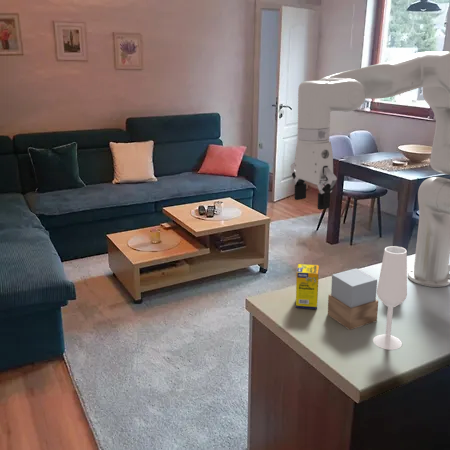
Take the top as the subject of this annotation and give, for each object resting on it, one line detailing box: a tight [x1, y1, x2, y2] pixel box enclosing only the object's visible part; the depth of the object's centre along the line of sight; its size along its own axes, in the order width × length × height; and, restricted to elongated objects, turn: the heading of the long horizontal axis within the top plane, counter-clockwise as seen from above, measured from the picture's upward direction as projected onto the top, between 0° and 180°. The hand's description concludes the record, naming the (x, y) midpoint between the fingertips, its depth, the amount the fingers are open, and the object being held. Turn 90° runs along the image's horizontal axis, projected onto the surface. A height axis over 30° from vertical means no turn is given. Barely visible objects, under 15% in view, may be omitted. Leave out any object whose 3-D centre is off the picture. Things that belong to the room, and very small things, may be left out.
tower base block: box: [327, 293, 379, 330], centre depth 129 cm, size 9×9×6 cm
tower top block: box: [330, 267, 378, 308], centre depth 127 cm, size 8×8×6 cm
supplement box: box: [295, 263, 320, 310], centre depth 136 cm, size 6×6×11 cm
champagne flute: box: [372, 245, 408, 351], centre depth 115 cm, size 7×7×24 cm
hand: (311, 203), depth 122 cm, fingers open, 9 cm apart
